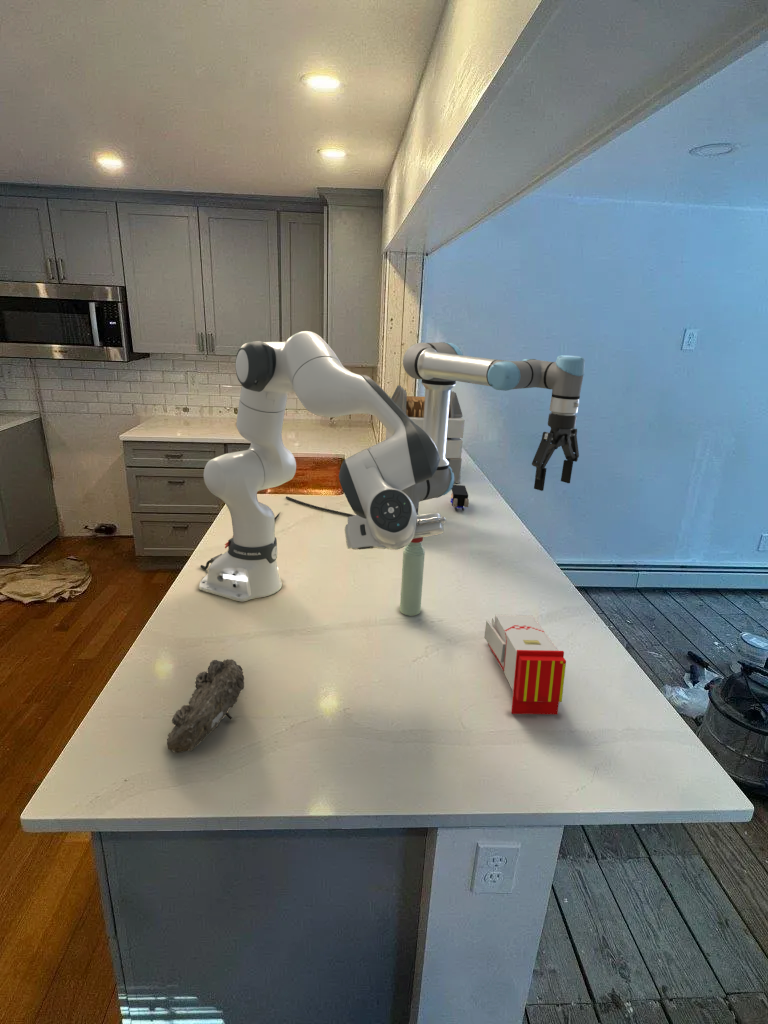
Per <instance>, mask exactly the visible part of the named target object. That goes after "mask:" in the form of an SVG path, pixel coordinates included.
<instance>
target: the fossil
mask: <svg viewBox="0 0 768 1024" xmlns="http://www.w3.org/2000/svg"><path fill="white" fill-rule="evenodd" d="M243 670H244V669H243V667H242V665H240V664H237V662H236V661H235V660H234V659H232V658H231V659H227V658H226V659H224V660H223V661H222V660H217V659H212V660H211V661H210V663H209V665H208V666H207V671H201V672H199V673H198V674H197V675H196V676H195V680H194V684H195V685H194V687H195V689H194V690H193V693H192V694H191V697H190V698H189V700H188V704H184V705H182V706H181V707H180V709H177V710H176V711H175V713H174V715H173V716H172V718H171V723H172V724H173V727H172V730H171V731H170V732H168V734H167V738H166V741H167V742H166V745H167V749H168V750H169V751H173V752H174V753H176V754H178V753H182V752H188V751H189V752H192V751H193V750H195V748H196V747H197V746H199V744H200V743H201V742H203V741H204V740H205V739H206V738H207V737H208V736H209V735H210V734H211V733H212V732H214V730H215V729H217V727H218V726H219V724H220V722H221V721H222V720H223V719H224V718H225V716H226V717H227V719H229V720H233V717H232V715H230V714H229V710H230V709H231V708H234V706H235V704H236V703H237V702H238V699H239V697H240V695H241V693H242V691H243V690H245V689H244V688H245V675H244V671H243Z"/></svg>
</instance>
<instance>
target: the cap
mask: <svg viewBox="0 0 768 1024" xmlns="http://www.w3.org/2000/svg"><path fill="white" fill-rule="evenodd" d="M423 541H424V537H421V538H414V539H412V541H411V542H413V543H419V542H420V543H422V542H423Z"/></svg>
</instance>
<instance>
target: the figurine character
mask: <svg viewBox="0 0 768 1024" xmlns="http://www.w3.org/2000/svg"><path fill="white" fill-rule="evenodd" d="M449 502H450V504H451V506H452V507H453V508H454V511H456V512H457V511H458V509H461V511H462V512H464V511H465V508H469V505H470V500H469V492H468V490H467V488H466V485H464V484H463V485H461V484H453V487H452V489H451V494H450V501H449Z"/></svg>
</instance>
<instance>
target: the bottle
mask: <svg viewBox="0 0 768 1024" xmlns="http://www.w3.org/2000/svg"><path fill="white" fill-rule="evenodd" d="M425 555H426V552H425V549H424V547H423V545H422V542H419V543H413V542H410V543H409V544H408V545H407V546H405V547H403V550H402V568H401V583H400V584H401V585H400V598H399V612H400V613H401V614H402V615H405V616H408V617H409V616H411V617H413V616H417V615H419V614H420V613H421V607H422V595H423V584H424V583H423V581H424V570H425V569H424V568H425V567H424V566H425Z"/></svg>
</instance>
